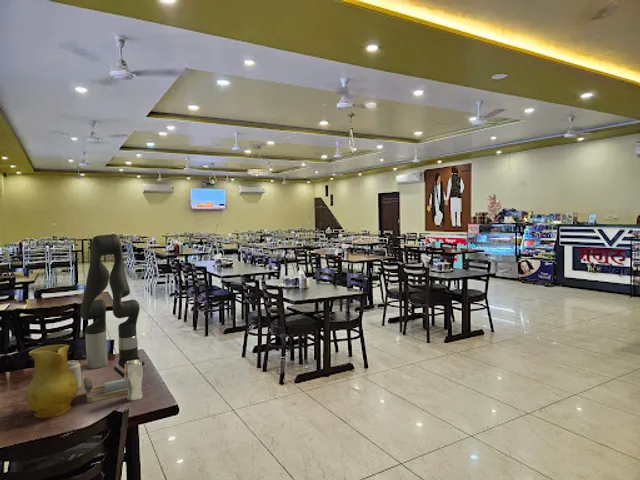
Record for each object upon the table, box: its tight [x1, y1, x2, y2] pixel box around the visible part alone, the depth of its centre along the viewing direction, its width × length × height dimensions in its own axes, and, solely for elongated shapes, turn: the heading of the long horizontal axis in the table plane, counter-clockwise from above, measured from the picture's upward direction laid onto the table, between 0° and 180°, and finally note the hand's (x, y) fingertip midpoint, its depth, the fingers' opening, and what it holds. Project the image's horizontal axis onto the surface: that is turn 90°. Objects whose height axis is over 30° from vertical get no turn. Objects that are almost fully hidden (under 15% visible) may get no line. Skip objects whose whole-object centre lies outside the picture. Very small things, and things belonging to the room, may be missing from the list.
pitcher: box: [25, 343, 79, 419], centre depth 166 cm, size 17×19×25 cm
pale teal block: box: [103, 378, 127, 393], centre depth 183 cm, size 6×8×4 cm
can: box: [67, 359, 82, 390], centre depth 185 cm, size 8×8×12 cm
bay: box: [83, 376, 128, 404], centre depth 180 cm, size 11×17×7 cm, turn 122°
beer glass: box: [123, 359, 144, 402], centre depth 176 cm, size 7×7×15 cm
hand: (130, 384), depth 185 cm, fingers closed
